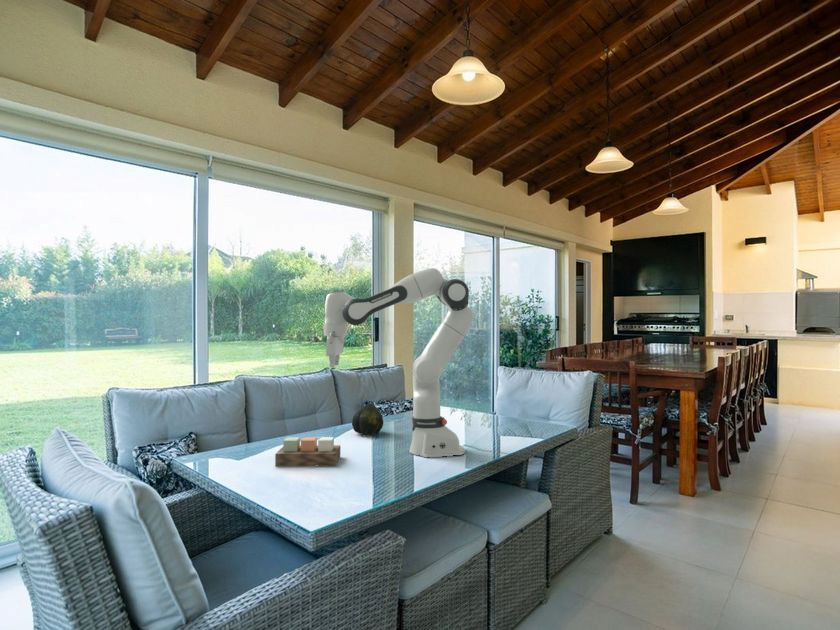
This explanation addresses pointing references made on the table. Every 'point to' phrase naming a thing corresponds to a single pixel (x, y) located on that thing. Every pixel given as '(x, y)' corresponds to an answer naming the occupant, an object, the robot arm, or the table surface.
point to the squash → (367, 420)
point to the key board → (308, 457)
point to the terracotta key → (309, 444)
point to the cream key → (326, 444)
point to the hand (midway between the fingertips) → (334, 366)
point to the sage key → (291, 444)
